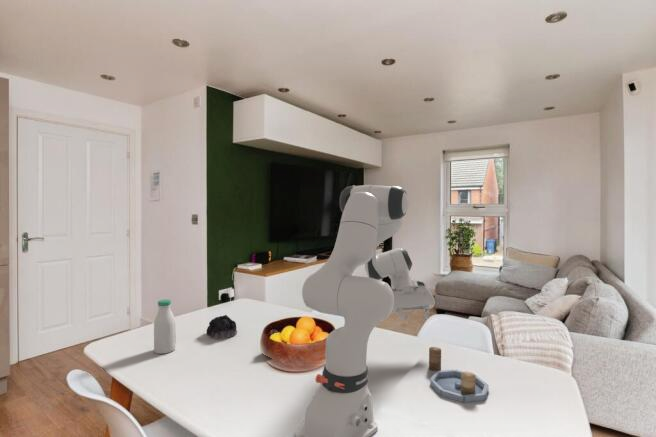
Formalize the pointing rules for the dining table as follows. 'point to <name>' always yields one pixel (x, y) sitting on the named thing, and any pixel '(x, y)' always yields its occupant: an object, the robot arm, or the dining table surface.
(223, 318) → the black rock
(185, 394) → the dining table surface
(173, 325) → the milk bottle
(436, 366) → the walnut bead
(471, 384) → the oak bead
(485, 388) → the ring tray
